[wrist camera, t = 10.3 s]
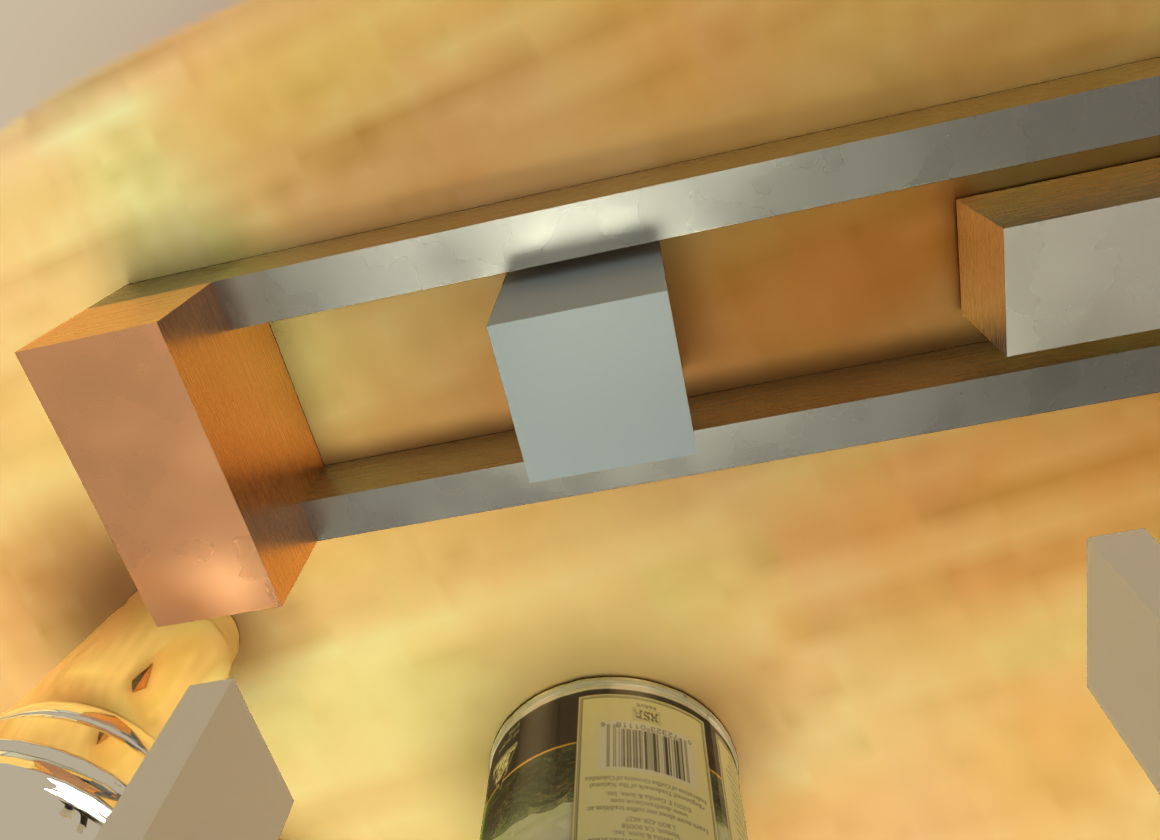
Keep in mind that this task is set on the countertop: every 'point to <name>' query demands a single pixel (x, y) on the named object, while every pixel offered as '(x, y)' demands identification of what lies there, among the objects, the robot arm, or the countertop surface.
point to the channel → (494, 462)
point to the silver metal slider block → (1063, 259)
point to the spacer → (592, 363)
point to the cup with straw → (100, 719)
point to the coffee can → (613, 767)
